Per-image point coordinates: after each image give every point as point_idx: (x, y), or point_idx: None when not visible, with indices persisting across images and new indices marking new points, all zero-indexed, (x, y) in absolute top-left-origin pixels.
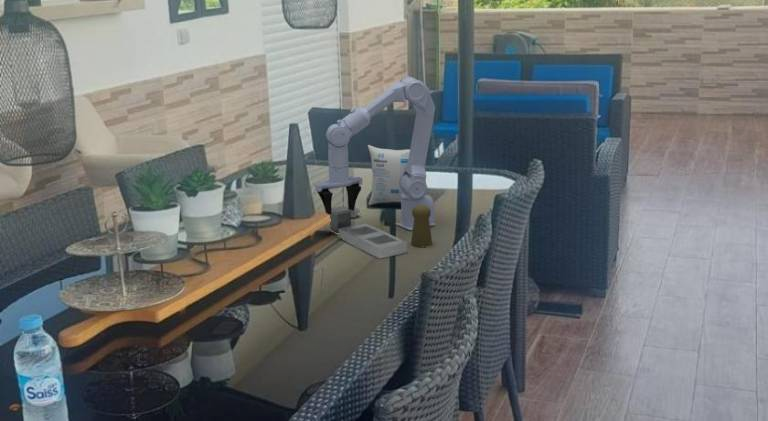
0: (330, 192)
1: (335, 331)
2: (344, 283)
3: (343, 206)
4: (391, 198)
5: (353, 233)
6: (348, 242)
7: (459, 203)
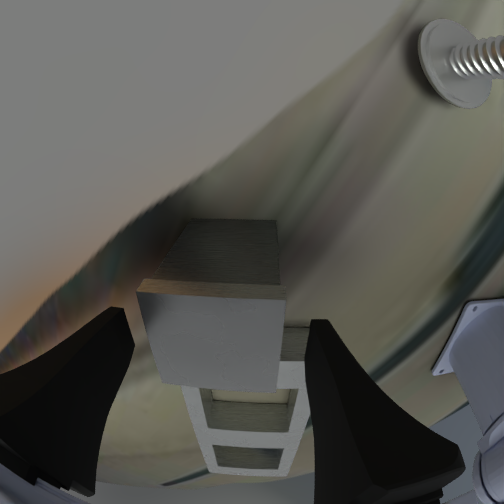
0: (76, 491)
1: (96, 473)
2: (118, 455)
3: (276, 315)
4: None
5: (202, 411)
6: None
7: None
